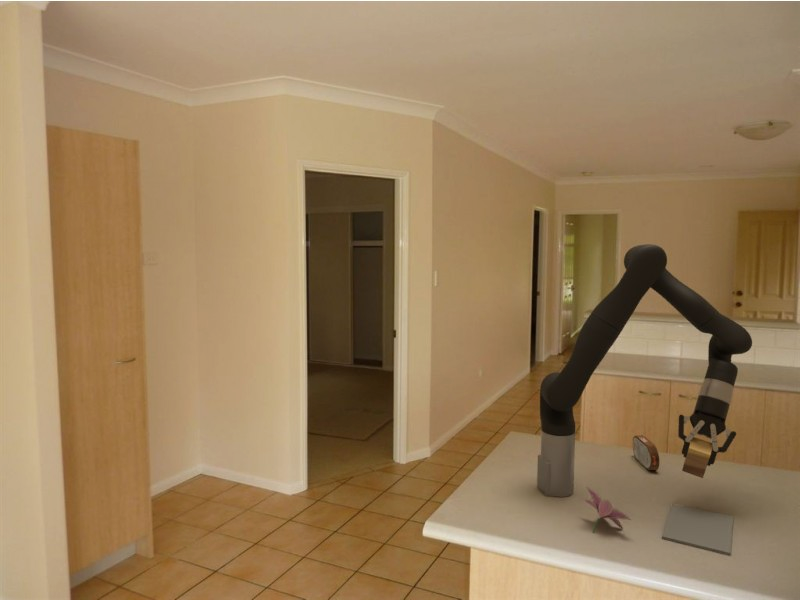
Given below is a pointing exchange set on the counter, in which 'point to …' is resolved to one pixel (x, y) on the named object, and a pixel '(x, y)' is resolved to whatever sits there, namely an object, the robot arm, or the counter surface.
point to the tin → (646, 452)
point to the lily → (605, 509)
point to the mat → (699, 529)
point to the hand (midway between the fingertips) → (696, 461)
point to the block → (697, 457)
